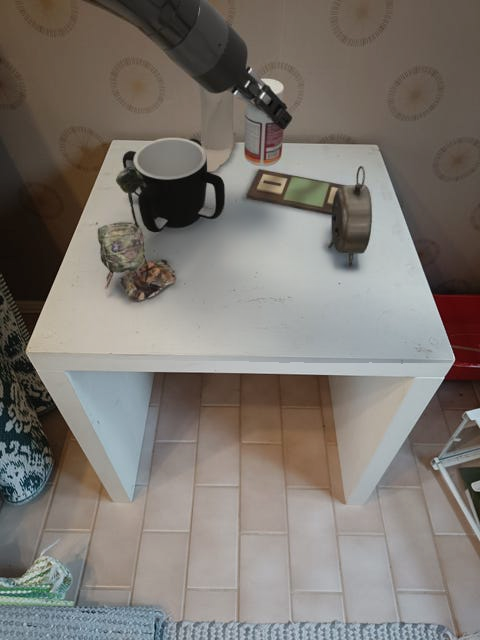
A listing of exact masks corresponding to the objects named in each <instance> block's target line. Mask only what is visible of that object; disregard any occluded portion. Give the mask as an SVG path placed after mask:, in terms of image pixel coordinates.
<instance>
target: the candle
mask: <svg viewBox="0 0 480 640" xmlns="http://www.w3.org/2000/svg"><path fill="white" fill-rule="evenodd" d="M198 87H199V98H200V99H199V100H200V143H201V145H202V148H203V149H204V151H205V152H206V156H207V172H209V173H212V172H213V173H214V172H216V171H217V170H218V169H219V167H221V166H222V165H224V164H225V163H227V162H228V160H229V159H230V157H231V155H232V152H233V150H234V149H235V130H234V98H235V96H234V95H233V94H232V93H231V92H229V91H227V90H226V91H224V92H222V93H218V94H214V93H210V92H208V91H207V90H206V89H204V88H203V87H202V86H201V85H200V84H199V83H198Z"/></svg>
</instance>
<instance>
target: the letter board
mask: <svg viewBox="0 0 480 640" xmlns="http://www.w3.org/2000/svg"><path fill="white" fill-rule="evenodd" d="M341 186H347V185H346V184H342V183H337V182H331V181H325V180H319V179H314V178H309V177H304V176H299V175H293V174H288V173H283V172H277V171H272V170H268V169H267V170H266V169H262V168H258V170H257V172H256V174H255V176H254V178H253V181H251V185H250V187H249V189H248V191H247V193H246V199H250V200H254V201H259V202H264V203H269V204H274V205H280V206H284V207H290V208H294V209H298V210H299V209H300V210H305V211H308V212H309V211H310V212H313V213H318V214H319V213H320V214H325V215H329V216H332V208H331V205H333V200H334V196H335V193H336V191H337V190H338V189H339V188H340V187H341Z"/></svg>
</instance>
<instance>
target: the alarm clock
mask: <svg viewBox="0 0 480 640" xmlns="http://www.w3.org/2000/svg"><path fill="white" fill-rule="evenodd" d="M361 170H362V179H361V183H359V175H360V174H359V173H360V171H361ZM355 177H356V180H355V181H356V184H353V185H352V184H350V185H349V184H348V185H347V186H341V187H340V188H339V189H338V190H337V191H336V193H335V196H334V200H333V205H331V208H332V215H331V222H330V223H331V226H330V227H331V242H330V244H329V245H328V249H331V248H332V247H334V249H335V251H336V252H337V253H339V254H344V255H346V254H348V258H349V259H348V262H349V263H348V266H349V267H353V266H354V264H353V262H354V254H364V253H365V252H366V250H367V248H368V246H369V243H370V239H371V235H372V234H371V232H372V225H373V203H372V197H371V192H370V190H369V187H368V186H367V185H366V184H365V180H366V170H365V167H364V166H363V165H360V166H359V167H358V169H357V171H356V176H355Z"/></svg>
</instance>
